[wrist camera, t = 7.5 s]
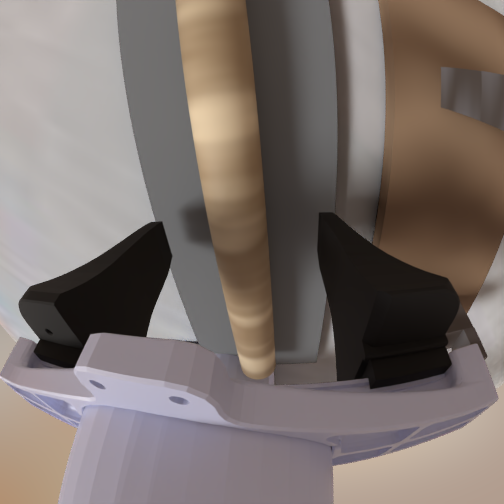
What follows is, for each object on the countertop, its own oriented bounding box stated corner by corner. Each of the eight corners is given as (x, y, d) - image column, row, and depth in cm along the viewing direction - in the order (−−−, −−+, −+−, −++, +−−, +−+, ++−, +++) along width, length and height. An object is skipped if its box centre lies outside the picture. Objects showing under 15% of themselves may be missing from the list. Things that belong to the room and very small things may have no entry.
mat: (315, 356, 21) (316, 362, 20) (207, 357, 22) (206, 363, 21) (318, -40, 6) (320, -44, 5) (121, -8, 7) (115, -11, 6)
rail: (277, 352, 19) (273, 380, 17) (244, 349, 20) (238, 377, 18) (248, -12, 7) (235, -32, 5) (188, 0, 7) (163, -15, 5)
